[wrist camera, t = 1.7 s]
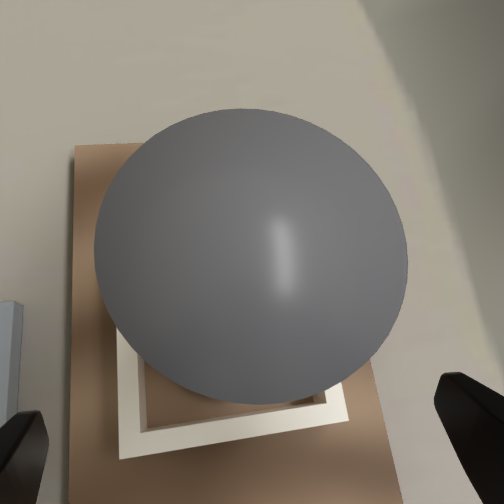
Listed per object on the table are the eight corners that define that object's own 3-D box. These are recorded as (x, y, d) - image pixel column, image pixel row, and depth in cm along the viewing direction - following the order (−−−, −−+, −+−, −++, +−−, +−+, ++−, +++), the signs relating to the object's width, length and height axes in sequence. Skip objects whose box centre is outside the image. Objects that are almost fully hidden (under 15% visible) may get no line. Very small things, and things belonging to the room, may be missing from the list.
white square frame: (333, 417, 18) (348, 420, 16) (128, 451, 16) (119, 459, 14) (298, 235, 21) (307, 220, 19) (122, 250, 19) (114, 235, 17)
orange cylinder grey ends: (309, 332, 19) (463, 246, 8) (221, 426, 17) (259, 492, 6) (226, 248, 20) (257, 65, 9) (134, 328, 18) (22, 224, 7)
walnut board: (407, 563, 17) (419, 572, 16) (74, 642, 15) (65, 660, 14) (313, 145, 24) (317, 135, 23) (80, 156, 22) (74, 145, 21)
